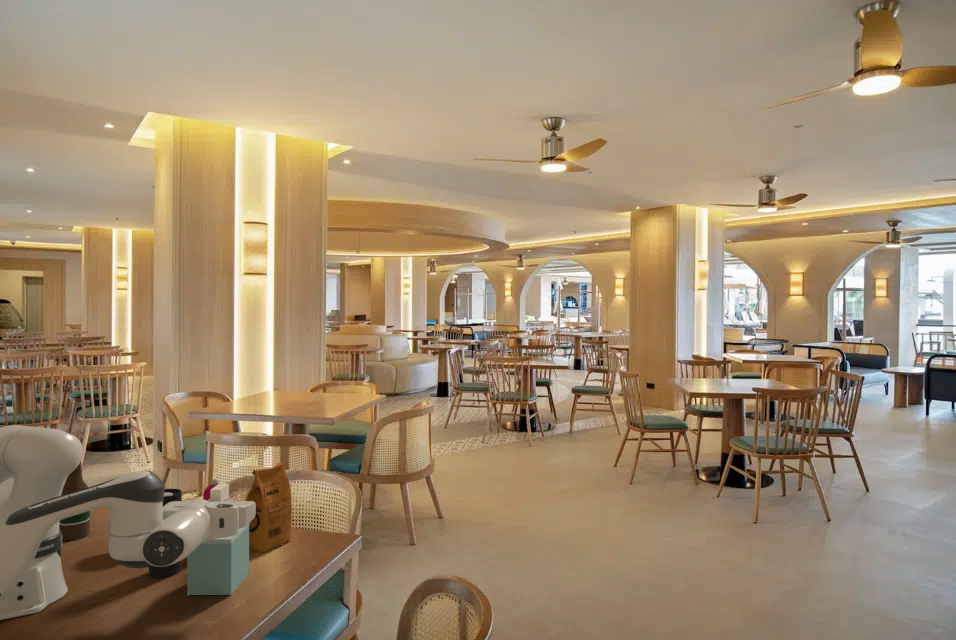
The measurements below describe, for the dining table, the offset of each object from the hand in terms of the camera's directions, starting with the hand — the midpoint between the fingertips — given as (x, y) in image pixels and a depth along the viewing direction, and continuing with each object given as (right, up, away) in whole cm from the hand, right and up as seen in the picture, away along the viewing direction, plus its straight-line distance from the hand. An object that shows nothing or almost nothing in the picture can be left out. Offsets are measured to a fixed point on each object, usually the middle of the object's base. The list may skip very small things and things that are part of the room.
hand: (221, 502), depth 147 cm
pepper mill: (-10, -20, +19) cm, 29 cm away
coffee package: (+2, -20, +25) cm, 32 cm away
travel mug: (-17, -20, +6) cm, 26 cm away
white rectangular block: (0, -5, -1) cm, 5 cm away
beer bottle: (-55, -19, +30) cm, 66 cm away
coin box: (0, -20, -1) cm, 20 cm away
